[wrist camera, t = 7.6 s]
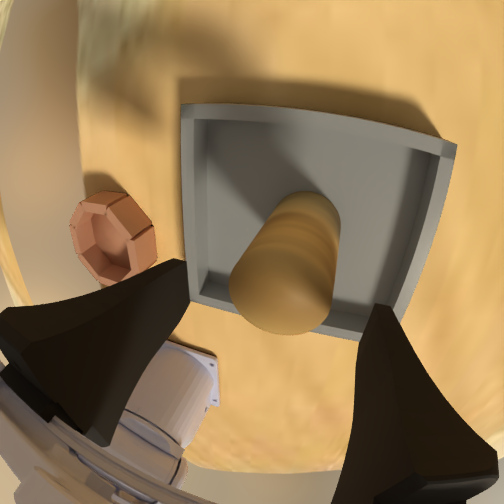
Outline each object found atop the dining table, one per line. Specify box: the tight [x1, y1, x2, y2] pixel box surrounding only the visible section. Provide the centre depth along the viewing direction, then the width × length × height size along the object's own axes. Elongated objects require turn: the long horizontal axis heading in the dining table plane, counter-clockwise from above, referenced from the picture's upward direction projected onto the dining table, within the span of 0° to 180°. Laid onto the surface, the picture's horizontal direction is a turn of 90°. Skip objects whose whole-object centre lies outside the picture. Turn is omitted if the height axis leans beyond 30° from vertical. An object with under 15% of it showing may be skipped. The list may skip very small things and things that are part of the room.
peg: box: [229, 191, 341, 335], centre depth 14 cm, size 4×4×7 cm
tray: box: [181, 103, 457, 342], centre depth 16 cm, size 13×14×2 cm
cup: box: [69, 191, 157, 286], centre depth 22 cm, size 8×8×2 cm
